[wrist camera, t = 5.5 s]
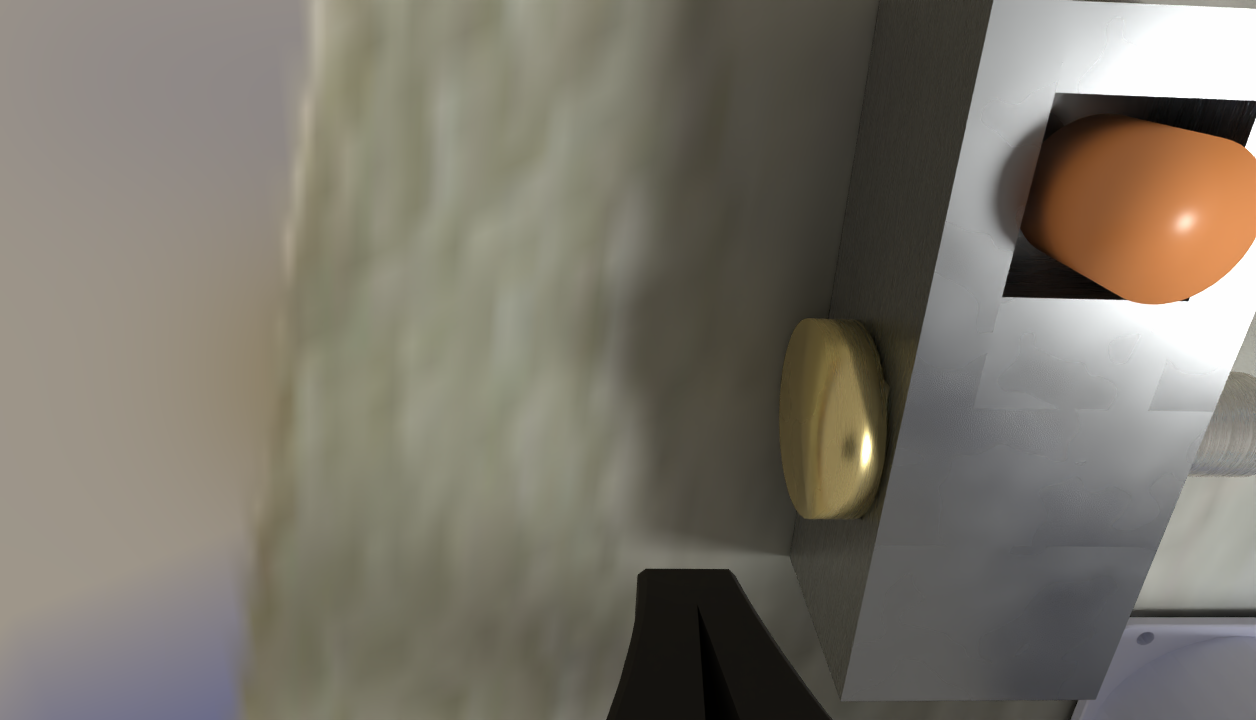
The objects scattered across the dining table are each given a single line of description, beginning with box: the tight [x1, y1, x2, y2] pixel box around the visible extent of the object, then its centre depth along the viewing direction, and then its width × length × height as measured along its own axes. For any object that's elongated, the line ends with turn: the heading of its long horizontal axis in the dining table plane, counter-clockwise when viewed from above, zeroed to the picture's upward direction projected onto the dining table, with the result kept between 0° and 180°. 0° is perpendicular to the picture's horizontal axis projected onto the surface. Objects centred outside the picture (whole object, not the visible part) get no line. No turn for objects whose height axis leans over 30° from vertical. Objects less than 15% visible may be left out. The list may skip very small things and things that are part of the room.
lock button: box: [1020, 114, 1256, 305], centre depth 13 cm, size 3×3×2 cm
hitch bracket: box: [790, 0, 1256, 701], centre depth 17 cm, size 6×14×5 cm, turn 178°
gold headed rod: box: [779, 318, 1256, 519], centre depth 17 cm, size 10×4×4 cm, turn 88°
